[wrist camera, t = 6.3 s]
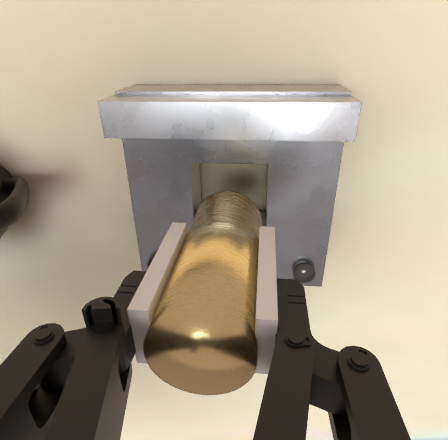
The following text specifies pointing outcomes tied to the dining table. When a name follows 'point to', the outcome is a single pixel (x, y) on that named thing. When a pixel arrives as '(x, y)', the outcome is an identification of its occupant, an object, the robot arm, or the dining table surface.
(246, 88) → the jig
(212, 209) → the brass cylinder
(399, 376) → the dining table surface
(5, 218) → the mug
